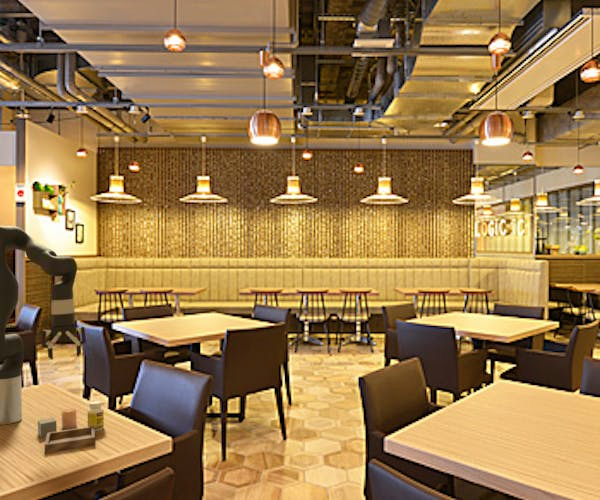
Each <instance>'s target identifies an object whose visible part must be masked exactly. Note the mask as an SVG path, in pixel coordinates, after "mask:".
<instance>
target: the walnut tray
mask: <svg viewBox="0 0 600 500" xmlns="http://www.w3.org/2000/svg"><path fill="white" fill-rule="evenodd" d="M95 432H96V431H95V428H94V426H91V427H88V426H85V427H79V428H77V427H76V428H72V429H62V430H57V431H56V432H49V433H47V436H46V437H45V441H44V454H46V455H47V454H52V453H57V452H62V451H63V452H64V451H65V452H66V451H71V450H76V449H83V448H89V447H95V446H96V435H95Z"/></svg>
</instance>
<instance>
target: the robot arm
mask: <svg viewBox="0 0 600 500" xmlns="http://www.w3.org/2000/svg"><path fill="white" fill-rule="evenodd" d="M13 250H18V251H22V252H25V255H26V258H28V260H29V261H30V262H32V263H34V264H35V265H37V266H39V267H40V268H41V270H42V271H43V272H44V273H45V274H46V275H47V276H51V277H61V278H60V280H59V282H56V283H53V284H52V285H51V288H50V289H51V290H50V294H51V305H50V309H51V310H50V313H51V329H43V330H42V331H41V347H42V348H45V349H47V356H48V358H49V359H50V360H54V349H53V347H54V344H56V342H57V341H58V342H63V341H66V342H67V341H70V340H72V342H73V343H74V344H76V357H80V355H81V354H82V345H84V344H86V342H87V339H86V328H85V326H83V325H82V326H79V327H76V318H75V317H76V316H75V315H76V314H75V311H76V310H75V302H74V289H73V288H74V284H75V281H76V280H75V279H76V276H77V272H78V271H77V270H78V264H77V261H76V259H75V258H74V257H73V256H67V255H66V256H64V255H63V256H58V255H57V253H56V252H55V251H54V250H52V249H51V248H50V247H49V248H48V247H46V246H44V245H43V244H42V243H40V242H38V241H36V240H35V239H34V238H33V237H32V236H31V235H29V234H28V233H27V232H26V231H25V230H24V229H22V228H20V227H18V226H15V225H14V226H13V225H0V361H3V360H4V361H3V363H2V364H1V365H0V426H1V425H9V424H13V423H17V422H20V421H22V419H23V406H22V405H23V401H22V400H23V399H22V398H23V397H22V369H23V366H24V342H23V339H22V337H21V336H20V335H19V334H18V333H10V334H6V327H7V324H8V321H9V319H10V317H11V316H12V314H13V312H14V310H15V309H16V307H17V305H18V301H19V283H18V280H17V278H16V276H15V275H14V273H13V271H11V269H10V267H9V266H8V261H7V257H6V251H13ZM76 332H78V333H79V334H81V340H79V339H78V338H77V337H76V335H75V334H76ZM50 334H51V335H52V336H53V338H52V339H51V341H50V343H47V337H48V336H49V335H50Z"/></svg>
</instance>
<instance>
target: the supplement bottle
mask: <svg viewBox="0 0 600 500" xmlns="http://www.w3.org/2000/svg"><path fill="white" fill-rule="evenodd" d="M104 416H105V415H104V407H102V401H101V400H94V401H93V400H92V401H91V402H89V409H87V427H91V426H94V428H95V432H98V431H101V430H102V431H103V430H104V426H105V425H104Z"/></svg>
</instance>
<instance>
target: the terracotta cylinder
mask: <svg viewBox="0 0 600 500" xmlns="http://www.w3.org/2000/svg"><path fill="white" fill-rule="evenodd" d="M77 419H78V417H77V409H76V408H65V409H64V410H61V429H62V430H70V429H76V428H77V425H78V423H77V421H78V420H77Z"/></svg>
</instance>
